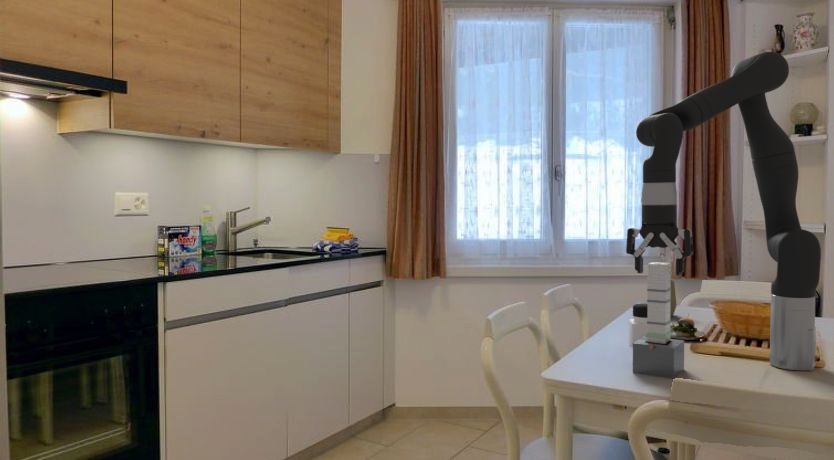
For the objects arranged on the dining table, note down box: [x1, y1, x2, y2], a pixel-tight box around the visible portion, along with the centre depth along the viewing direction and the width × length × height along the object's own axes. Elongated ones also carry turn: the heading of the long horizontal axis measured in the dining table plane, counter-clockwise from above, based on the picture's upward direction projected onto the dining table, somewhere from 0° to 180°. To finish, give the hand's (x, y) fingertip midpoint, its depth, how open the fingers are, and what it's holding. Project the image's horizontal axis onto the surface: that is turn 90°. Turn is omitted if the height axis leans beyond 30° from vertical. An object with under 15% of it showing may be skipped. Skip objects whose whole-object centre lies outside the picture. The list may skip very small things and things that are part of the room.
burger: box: [670, 314, 707, 341], centre depth 187 cm, size 12×12×8 cm
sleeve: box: [632, 336, 685, 380], centre depth 148 cm, size 16×16×8 cm
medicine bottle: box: [628, 302, 648, 348], centre depth 176 cm, size 7×7×12 cm
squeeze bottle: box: [670, 279, 678, 317], centre depth 220 cm, size 8×8×18 cm
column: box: [646, 261, 672, 344], centre depth 148 cm, size 4×4×18 cm
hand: (659, 273), depth 147 cm, fingers open, 8 cm apart
